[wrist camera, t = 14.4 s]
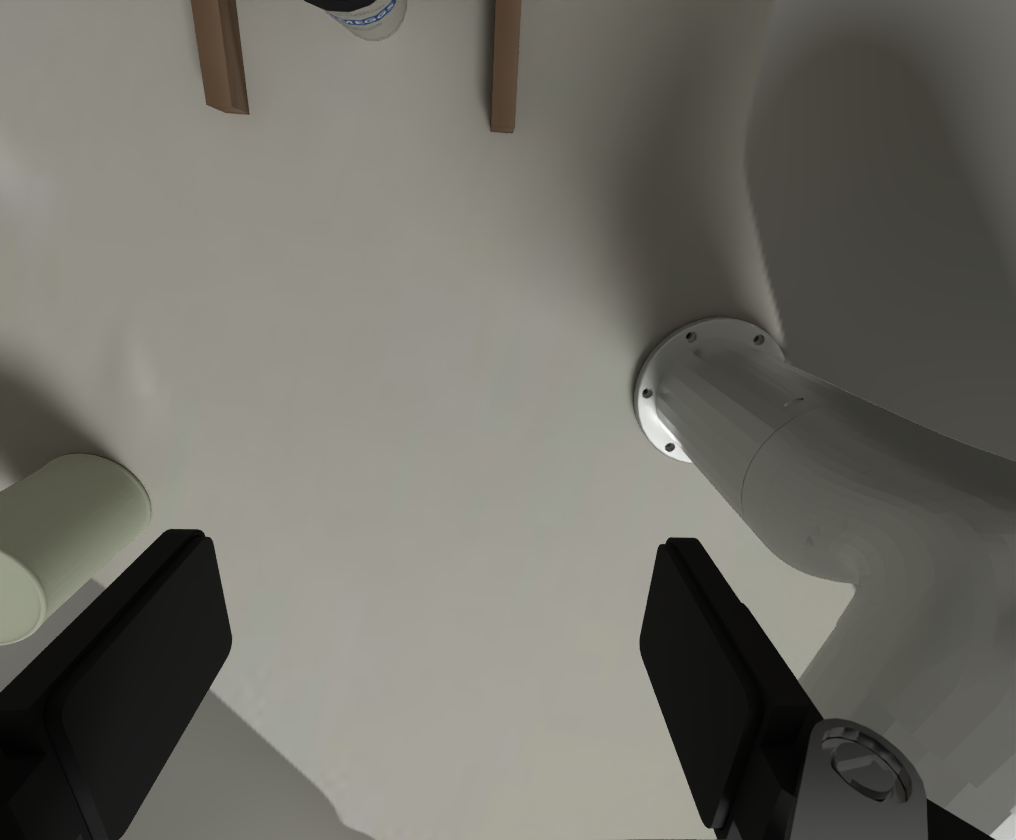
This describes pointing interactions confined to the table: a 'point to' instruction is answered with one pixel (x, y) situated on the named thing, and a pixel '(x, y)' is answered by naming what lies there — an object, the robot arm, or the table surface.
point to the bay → (228, 79)
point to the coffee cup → (366, 16)
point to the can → (62, 535)
